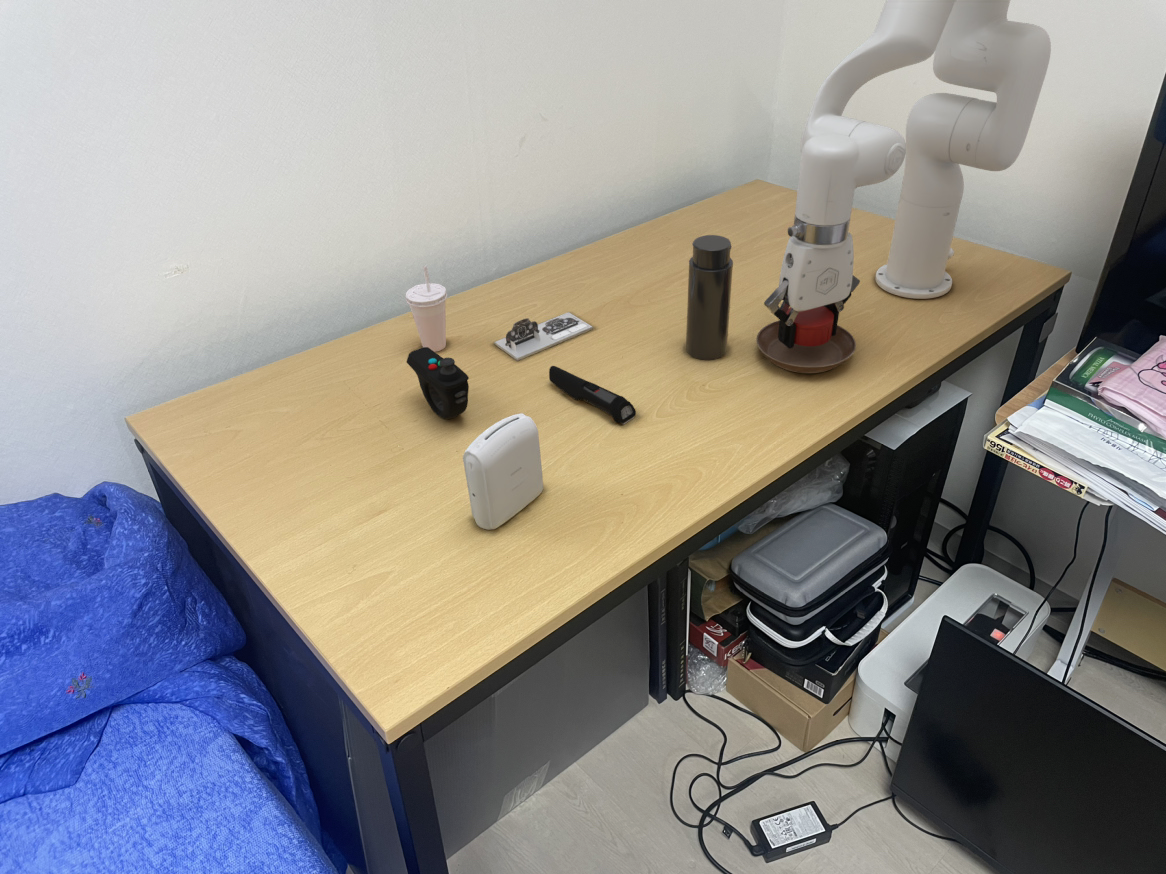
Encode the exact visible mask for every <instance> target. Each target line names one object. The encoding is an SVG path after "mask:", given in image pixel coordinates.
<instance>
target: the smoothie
mask: <svg viewBox="0 0 1166 874" xmlns="http://www.w3.org/2000/svg"><path fill="white" fill-rule="evenodd" d="M422 268H423V275H424V281H425V283H420V284H416V285H414V286H412V287H410V288H409V289H407V291H406V292H405V302H406V303H407V304H408V305H409V307H410V310H411V313H412V318H413V321H414V323H415V327H416V331H417V333H418V335H419V339H420V342H421V345H422V348H423V347H428V348H430V349H431V350H433V351H434V352H435V353H437V352H439V351H442V350H444V349H445V348H446V346H447V330H446V329H447V324H446V323H447V319H446V317H447V316H446V314H447V313H446V312H447V311H446V307H447V306H446V299H447V298H448V292H447V289H446V287H445V286H443V285H441V284H439V283H434V282H433V283H432V282H430V277H429V272H428V266H427V265H424V266H422Z"/></svg>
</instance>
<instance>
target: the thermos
mask: <svg viewBox="0 0 1166 874" xmlns="http://www.w3.org/2000/svg"><path fill="white" fill-rule="evenodd" d="M691 244H692V245H691V246H692V256H691V257H690V258H689V260H688V279H687V280H688V281H687V307H686V312H687V313H686V332H685V333H686V335H685V351H686V353H687V354H688V355H689V356H690V357H691V358H694V359H697V360H700V361H701V360H702V361H712V360H717V359H720V358H722V357H723V356H725V355H726V354H727V351H728V339H729V326H730V311H731V310H730V309H731V299H732V296H731V295H732V285H733V284H732V283H733V268H734V261H733V258H731V250H732V242H731V240H730V239H729V238H727V237H725V236H722V235H717V234H707V235H702V236H698V237H696V238H695V239H694V240H693V241H692V243H691Z"/></svg>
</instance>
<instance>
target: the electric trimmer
mask: <svg viewBox="0 0 1166 874" xmlns="http://www.w3.org/2000/svg"><path fill="white" fill-rule="evenodd" d="M548 369H549V370H548V378H549V381H550V382H551V384H553V385H555V386H556V387H557V388H558V389H560V390H561V391H562V392H564V393H565V394H566V395H568V396H569V397H570V398H572V399H574V400H575V401H585V402H586V403H588V404H590V405H592V406H594V407H595V408H597V409H599V410H601V411H602V412H604V413H606V414H608V415H609V416H611V417H612V420H613V421H614V422H615V423H616V424H617V425H618V424H619V425H620V424H622V425H623V426H624V425H626V424H627V423H629V422H630V421H632V420H633V419H635V417H636V414H637V411H636V408H635V407H634V405H633V404H632V403H631V401H629V400H628V399H626V398H625V397H624V396H623V395H619V394H617V393H615V392H613V391H611V390H609V389H606V388H604V387H602V386H600V385H598V384H595V383H593V382H591V381H588V380H586V379H584V378H582V377H580V376H578V375H575V374H573V373H571V372H569V371H567V370H565V369H563V368H561V367H559V366H556V365H551V366H550V367H549V368H548Z"/></svg>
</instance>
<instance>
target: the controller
mask: <svg viewBox="0 0 1166 874" xmlns="http://www.w3.org/2000/svg"><path fill="white" fill-rule="evenodd" d="M455 362H456V361H455V359H454V358H452V357H442V356H441V355H440V354H438V353H437V352H434V351H433V350H431V349H430V348H428V347H423V346H422V347H420V348H418V349H415V350H413V351H410V353H408V355H407V359H406V364H407V365H408V366H409V367H410V368H411V369H412V370H413V372H414V373H415V374H416V376H417V379H418V383H419V387H420V389H421V392H422V394H423V396H424V399H425V401H426V402H427V404H428V405H429V407H430V408H431V410H432V411H433V412H434V414H435V415H437V416H438V417H440V418H442V419H444V420H451V419H454V418H456V417H458V416H460V415H462V414H463V413H464V412H465V411H466V410H467V408H468V404H469V389H470V386H469V381H468V380H469V379H470V378H469V375H468V374H467V373H466V372H465V371H464V370H462V368H460V367H459V366H458V365H457V364H455Z"/></svg>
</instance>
